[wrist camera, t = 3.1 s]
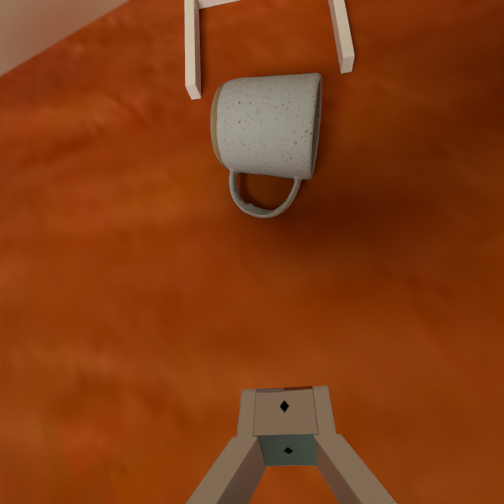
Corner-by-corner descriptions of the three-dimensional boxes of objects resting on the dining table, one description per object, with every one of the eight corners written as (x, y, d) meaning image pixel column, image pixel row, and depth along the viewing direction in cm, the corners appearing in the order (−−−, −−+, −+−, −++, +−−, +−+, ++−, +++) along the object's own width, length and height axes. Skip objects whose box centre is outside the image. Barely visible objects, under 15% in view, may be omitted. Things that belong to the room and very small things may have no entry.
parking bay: (333, -28, 33) (335, -48, 31) (351, 71, 29) (354, 55, 28) (190, 4, 35) (184, -13, 33) (191, 99, 32) (185, 86, 30)
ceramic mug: (236, 116, 30) (215, 49, 23) (321, 118, 29) (327, 48, 21) (218, 218, 28) (188, 180, 21) (309, 226, 27) (311, 189, 19)
